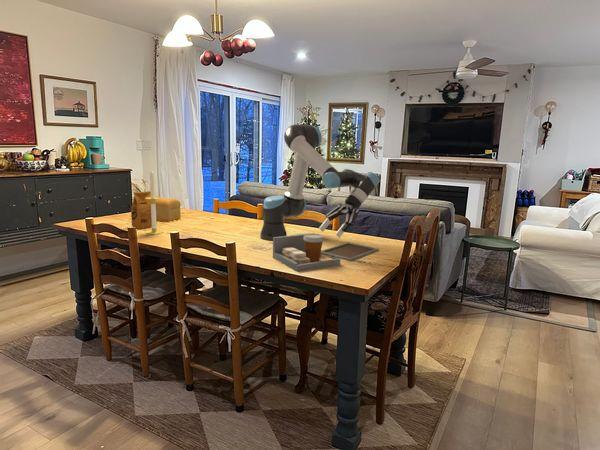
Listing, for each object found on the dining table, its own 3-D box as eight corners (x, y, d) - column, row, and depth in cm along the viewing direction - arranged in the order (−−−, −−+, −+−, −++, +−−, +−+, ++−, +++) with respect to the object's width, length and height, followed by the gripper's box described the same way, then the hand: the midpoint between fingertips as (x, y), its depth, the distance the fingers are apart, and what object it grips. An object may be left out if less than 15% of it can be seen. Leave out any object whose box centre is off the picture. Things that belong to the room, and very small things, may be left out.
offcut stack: (279, 259, 198) (279, 247, 196) (289, 257, 201) (290, 245, 200) (300, 269, 183) (300, 256, 182) (311, 267, 186) (311, 254, 185)
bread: (181, 219, 285) (180, 197, 282) (168, 222, 273) (168, 199, 270) (153, 215, 294) (152, 194, 291) (139, 218, 282) (138, 196, 279)
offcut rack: (272, 257, 199) (273, 237, 197) (313, 252, 210) (314, 233, 208) (296, 271, 180) (297, 248, 178) (340, 264, 191) (341, 243, 189)
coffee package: (129, 226, 256) (127, 191, 252) (149, 224, 265) (147, 189, 261) (137, 229, 250) (135, 193, 245) (156, 226, 258) (155, 191, 254)
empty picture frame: (378, 248, 218) (347, 260, 195) (378, 251, 218) (347, 263, 195) (347, 242, 230) (314, 252, 207) (347, 245, 230) (314, 255, 207)
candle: (167, 231, 246) (164, 167, 238) (154, 235, 237) (151, 168, 229) (154, 229, 250) (152, 166, 243) (141, 232, 242) (138, 167, 234)
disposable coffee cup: (299, 258, 199) (300, 234, 197) (318, 257, 202) (319, 233, 200) (307, 264, 190) (307, 238, 188) (326, 262, 194) (327, 237, 191)
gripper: (376, 208, 193) (349, 243, 188) (344, 201, 214) (319, 232, 209) (368, 197, 189) (340, 233, 185) (336, 191, 210) (310, 223, 206)
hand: (328, 232), depth 197 cm, fingers open, 13 cm apart
